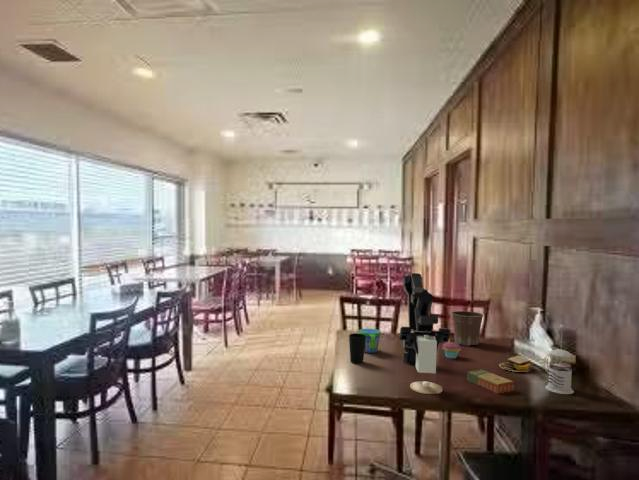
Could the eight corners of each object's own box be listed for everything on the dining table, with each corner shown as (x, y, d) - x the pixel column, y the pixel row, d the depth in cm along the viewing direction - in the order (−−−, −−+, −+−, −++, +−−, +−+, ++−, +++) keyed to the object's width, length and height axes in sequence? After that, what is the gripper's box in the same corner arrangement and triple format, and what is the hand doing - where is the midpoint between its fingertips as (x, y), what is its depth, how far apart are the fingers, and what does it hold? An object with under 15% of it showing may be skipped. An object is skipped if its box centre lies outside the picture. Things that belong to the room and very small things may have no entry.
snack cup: (357, 347, 227) (357, 326, 227) (378, 347, 227) (378, 327, 227) (360, 355, 212) (360, 334, 211) (382, 356, 212) (383, 334, 211)
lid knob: (427, 385, 172) (427, 381, 171) (431, 387, 169) (431, 383, 169) (421, 386, 171) (421, 381, 170) (425, 388, 168) (425, 384, 168)
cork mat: (429, 381, 178) (429, 380, 178) (449, 392, 167) (449, 390, 167) (403, 384, 173) (403, 383, 173) (422, 395, 162) (422, 394, 162)
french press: (561, 395, 166) (564, 328, 166) (535, 385, 177) (537, 321, 176) (580, 392, 170) (582, 326, 170) (553, 382, 181) (555, 320, 180)
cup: (364, 365, 197) (365, 338, 196) (347, 363, 198) (347, 336, 198) (366, 360, 204) (366, 334, 204) (349, 359, 206) (350, 332, 205)
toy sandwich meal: (493, 366, 202) (493, 355, 202) (518, 364, 205) (519, 354, 205) (511, 375, 190) (511, 363, 190) (538, 373, 193) (539, 362, 193)
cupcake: (440, 358, 211) (441, 332, 211) (443, 353, 219) (443, 329, 219) (459, 360, 208) (460, 334, 208) (461, 356, 216) (462, 331, 215)
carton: (497, 395, 166) (497, 383, 166) (466, 381, 180) (466, 370, 180) (514, 392, 169) (514, 380, 169) (482, 378, 184) (482, 368, 184)
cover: (415, 367, 173) (416, 333, 173) (432, 367, 173) (433, 333, 172) (418, 372, 167) (419, 337, 166) (435, 373, 166) (436, 337, 166)
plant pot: (445, 339, 248) (446, 310, 247) (473, 339, 249) (474, 310, 249) (458, 347, 231) (459, 316, 231) (488, 347, 233) (489, 316, 233)
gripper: (401, 305, 174) (403, 341, 163) (450, 307, 172) (456, 343, 162) (398, 321, 182) (400, 356, 171) (445, 323, 180) (450, 359, 170)
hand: (426, 353), depth 168 cm, fingers closed on cover, 6 cm apart
